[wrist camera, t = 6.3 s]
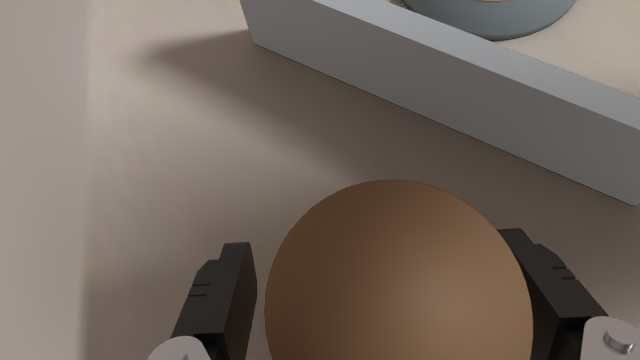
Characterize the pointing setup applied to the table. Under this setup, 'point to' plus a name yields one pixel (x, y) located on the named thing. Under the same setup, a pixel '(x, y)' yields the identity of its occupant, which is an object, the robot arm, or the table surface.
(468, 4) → the mat
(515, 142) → the acrylic wall
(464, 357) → the walnut pin
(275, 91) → the table surface
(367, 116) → the table surface
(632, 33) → the table surface
